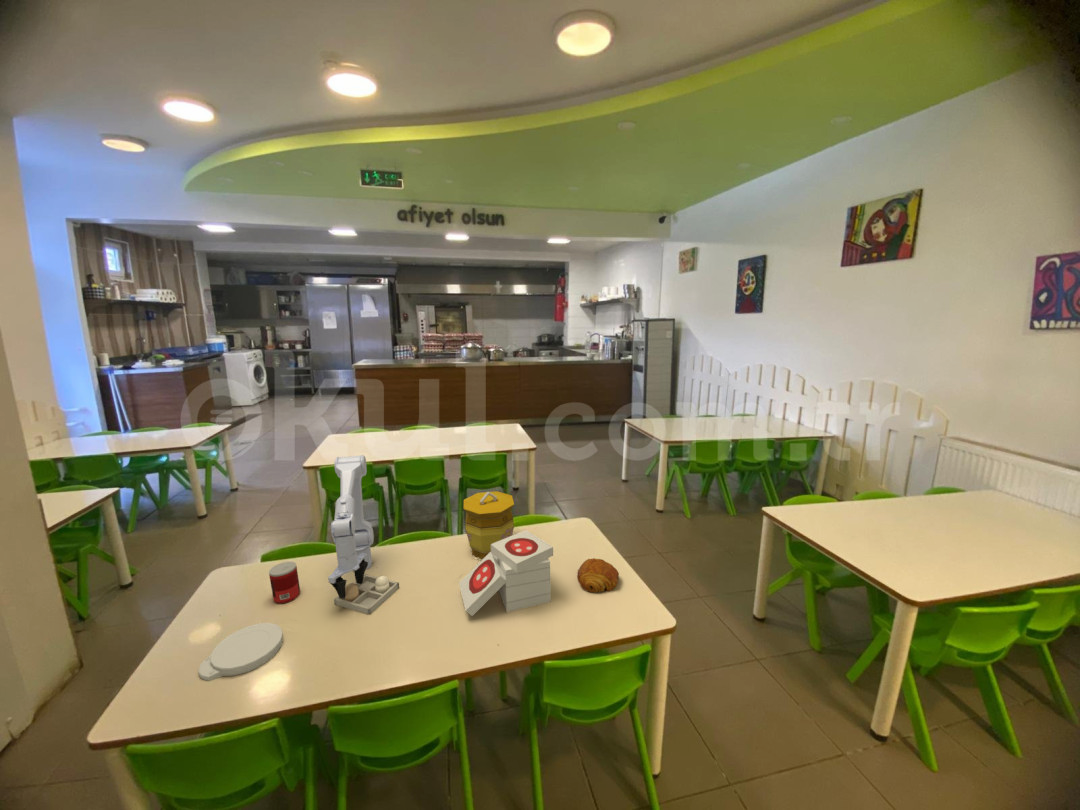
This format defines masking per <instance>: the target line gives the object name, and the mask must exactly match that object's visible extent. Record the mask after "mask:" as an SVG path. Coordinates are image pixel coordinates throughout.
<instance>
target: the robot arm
mask: <svg viewBox="0 0 1080 810" xmlns="http://www.w3.org/2000/svg"><path fill="white" fill-rule="evenodd" d="M333 465H334V471H335V474H336V475H337V478H339V479H340V496H339V497H338V498H337V499H336V501H335V510H334V511H335V512H334V517H333V518H334V520H332V521H331V524H330V531H331V533H330V534H331V538H332V540H333V543H334V544H335V552H336V559H337V567H336V568H335V569H334V570H333V572H332V573H331V574H330V575H329V576H327V579H328V581H327V582H328V583H329V584H330V585H331V586H332V587H333V588H334V589H335V591H336V592H337V593H336V594H338V595H337V596H339V597H341V598H345V596H346V592H345V587H346V586H347V579H343V576H344V575H346V574H349V573H351V572H352V571H353V574H354V578H355V582H356V583H359V584H362V583H363V578H364V575H365V574H366V570H368V569H370V568H371V567H372V566H373V560H372V549H371V546H372V545H373V544H374V539H375V535H374V529H373V524H372V523H371V522H369V521H367V520H366V519H365V518H364V517H365V516H364V504H363V503H364V502H363V490H362V479H363V477H365V476H367V472H368V471H367V459H366V456H365V455H364V454H361V455H350V456H342V457H341V456H340V457H339V456H337V457H336V458H335V459H334V464H333Z"/></svg>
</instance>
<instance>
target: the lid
mask: <svg viewBox="0 0 1080 810" xmlns="http://www.w3.org/2000/svg"><path fill="white" fill-rule="evenodd" d="M283 637H284V634H283V629H282V628H281V627H280V626H279V625H278V624H276V623H273V622H272V623H271V622H260V623H255V624H250V625H249V626H245V627H243V628H239V629H238V630H236V631H234V632H232V633H230V634H229V635H227V636H226V637H224V639H222V640H220V642H219V643H218V644H217V645H216V646H215V647H214V649H213V650H212V652H211V653H210V655H209V656H207V657H206V658H205V659H203V661H202V662H201V663H200V665H199V667H198V676H199V677H200V678H201V680H204V681H213V680H216V679H218V678H221V677H224V676H226V677H227V676H231V677H232V676H237V675H242V674H245V673H248V672H251V671H253V670H255V669H257V668H259V667H261V666H263V665H264V664H266V663H267V662H268V661H270V660H271V659H272V658H273V657H274V656H275V655H276V654H277V653H278V652H279V651H280V649H281V646H282V643H283Z"/></svg>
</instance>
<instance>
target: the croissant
mask: <svg viewBox="0 0 1080 810" xmlns="http://www.w3.org/2000/svg"><path fill="white" fill-rule="evenodd" d="M619 575H620V573H619V571H618V569H617V568H616V567H614V566H613V564H611V563H609V562H607V561H605V560H604V559H602V558H595V557H594V558H587V559H586V560H584V562H582V564H581V565H580V566H579V568H578V569H577V576H576V577H577V582H578V584H579V585H580V587H581V588H582V589H583V590H585V591H586V592H588V593H603V591H604V592H611V591H613V589H615V588H616V587H617V585H618V583H619Z"/></svg>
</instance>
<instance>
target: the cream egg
mask: <svg viewBox="0 0 1080 810" xmlns="http://www.w3.org/2000/svg"><path fill="white" fill-rule="evenodd" d="M377 577H378V578H377V579H376V581H375V589H376V592H378V593H382V594H384V593H385V592H386V591H387V590H388V589H390V588H389V580H390V579H389V578H388V577H387V576H386V575H379V576H377Z"/></svg>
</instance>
